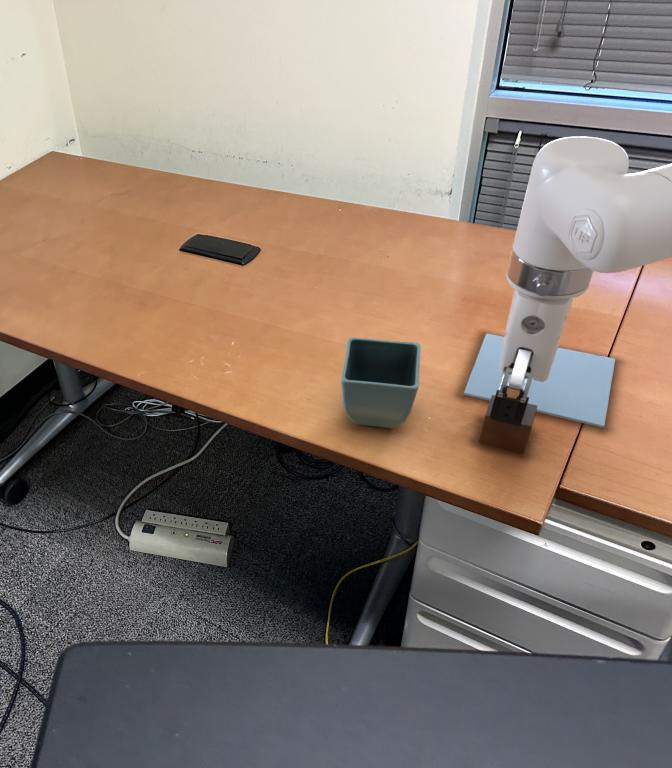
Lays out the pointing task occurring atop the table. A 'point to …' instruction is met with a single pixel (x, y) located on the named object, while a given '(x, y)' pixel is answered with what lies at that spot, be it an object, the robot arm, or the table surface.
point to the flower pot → (380, 381)
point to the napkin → (551, 383)
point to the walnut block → (508, 430)
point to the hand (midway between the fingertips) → (513, 394)
